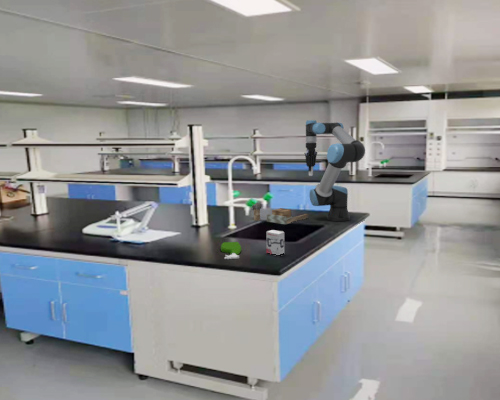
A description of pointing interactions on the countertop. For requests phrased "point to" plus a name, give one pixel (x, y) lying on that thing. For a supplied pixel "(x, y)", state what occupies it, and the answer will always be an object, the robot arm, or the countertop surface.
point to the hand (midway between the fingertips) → (310, 175)
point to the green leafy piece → (231, 249)
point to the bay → (284, 218)
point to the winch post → (257, 211)
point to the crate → (282, 212)
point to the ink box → (275, 242)
